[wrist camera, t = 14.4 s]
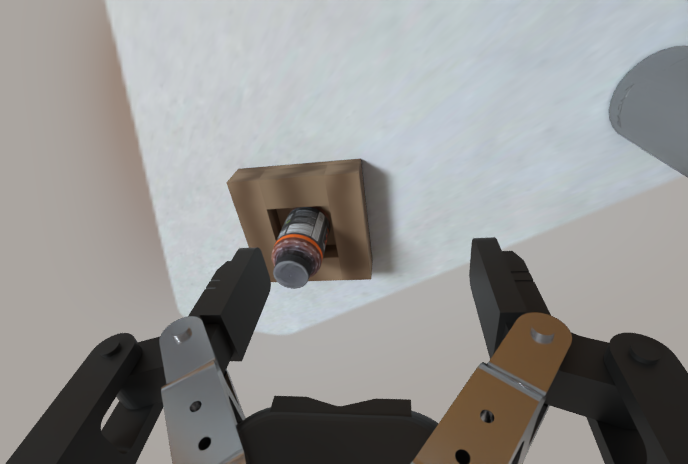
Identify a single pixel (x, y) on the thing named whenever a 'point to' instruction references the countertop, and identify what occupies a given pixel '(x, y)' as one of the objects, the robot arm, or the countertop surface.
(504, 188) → the countertop surface
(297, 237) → the supplement bottle
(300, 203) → the walnut holder
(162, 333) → the robot arm
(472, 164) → the countertop surface
